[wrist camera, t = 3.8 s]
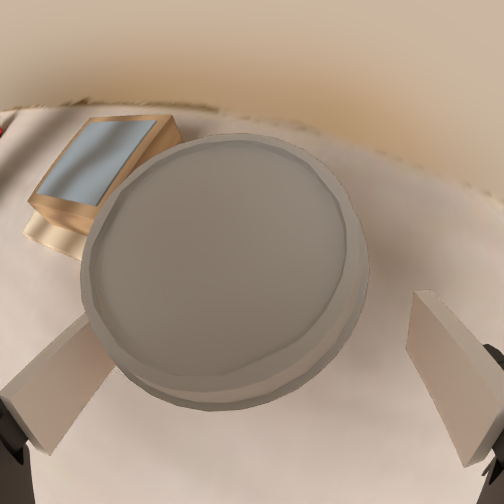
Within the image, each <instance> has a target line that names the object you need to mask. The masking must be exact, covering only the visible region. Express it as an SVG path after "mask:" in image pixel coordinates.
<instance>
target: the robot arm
mask: <svg viewBox="0 0 504 504" xmlns="http://www.w3.org/2000/svg"><path fill="white" fill-rule="evenodd" d="M406 350H407V352H408V354H409V356H410V357H411V359H412V361H413V363H414V365H415V367H416V369H417V370H418V372H419V374H420V376H421V378H422V380H423V382H424V384H425V386H426V388H427V389H428V391H429V393H430V395H431V397H432V399H433V401H434V403H435V405H436V407H437V409H438V411H439V414H440V416H441V418H442V420H443V422H444V424H445V426H446V428H447V430H448V433H449V435H450V437H451V439H452V441H453V444H454V446H455V448H456V451H457V453H458V455H459V458H460V460H461V462H462V465H463V467H464V468H465V467H468V466H470V465H473V464H475V463H478V462H480V461H482V460H484V459H485V457H486V456H487V455H488V453H489V452H490V450H491V449H493V451H494V453H495V457H494V458H493V460H492V461H491V462H490V464H489V465H488V466H487V467H486V469H485V470H484V472H483V473H482V475H481V476H485V474H486V473H487V472H488V471H489V472H488V475H487V477H486V480H485V483H484V486H483V488H482V491H481V494H480V496H479V499H478V501H477V504H504V355H503V354H502V353H501V352H500V351H499V350H498V349H496V348H494V347H493V346H491V345H489V344H485V345H482V344H481V343H480V342H479V341H478V340H477V339H476V338H475V336H474V335H473V334H472V333H471V332H470V331H469V330H468V329H467V328H466V326H465V325H464V324H463V323H462V322H461V321H460V320H459V319H458V318H457V317H456V316H455V315H454V314H453V312H452V311H451V310H450V309H449V308H448V307H447V306H446V305H445V304H444V303H443V302H442V301H441V300H440V299H439V298H438V297H437V296H436V295H435V294H434V293H433V292H432V291H431V290H430V289H429V290H421V291H414V294H413V303H412V311H411V318H410V325H409V332H408V338H407V344H406ZM115 365H116V364H115V363H114V362H113V360H112V359H111V358H110V357H109V355H108V353H107V351H106V350H105V348H104V347H103V345H102V344H101V342H100V341H99V339H98V338H97V336H96V335H95V333H94V331H93V330H92V328H91V325H90V323H89V320H88V317H87V314H86V312H85V313H84V314H83V315H82V316H81V317H80V318H79V319H77V320H76V321H75V322H74V323H73V324H72V325H71V326H69V327H68V328H67V329H66V330H65V331H64V332H63V333H62V334H60V335H59V336H58V337H57V338H56V339H55V340H54V341H53V342H52V343H51V344H49V345H48V346H47V347H46V348H45V349H44V350H43V351H42V352H41V353H40V354H39V355H37V356H36V357H35V358H34V359H33V360H32V361H31V362H30V363H29V364H28V365H27V366H26V367H25V368H24V369H23V370H22V371H21V372H20V373H19V374H18V375H16V376H15V377H14V378H13V379H12V380H11V381H10V382H9V383H8V384H7V385H6V386H5V387H4V388H3V389H2V390H1V391H0V504H35V499H34V492H33V485H32V476H31V466H30V452H29V448H28V446H27V445H26V444H25V443H26V442H27V440H28V439H29V440H30V442H31V443H32V444H33V446H34V447H35V448H36V449H37V450H38V451H40V452H43V453H45V454H47V455H49V456H50V455H51V454H52V452H53V451H54V449H55V448H56V447H57V445H58V444H59V442H60V441H61V439H62V438H63V436H64V435H65V434H66V432H67V431H68V429H69V428H70V427H71V425H72V424H73V422H74V421H75V419H76V418H77V417H78V415H79V414H80V413H81V411H82V410H83V408H84V407H85V406H86V404H87V403H88V401H89V400H90V399H91V397H92V396H93V395H94V393H95V392H96V391H97V389H98V388H99V386H100V385H101V384H102V382H103V381H104V380H105V378H106V377H107V376H108V374H109V373H110V372H111V370H112V369H113V368H114V366H115Z"/></svg>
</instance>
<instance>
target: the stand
mask: <svg viewBox="0 0 504 504" xmlns="http://www.w3.org/2000/svg"><path fill="white" fill-rule="evenodd" d="M181 143H184V142H183V140H182V138H181V135H180V133H179V130H178V128H177V126H176V123H175V121H174V118H173V116H172V115H134V116H113V117H99V118H90V119H89V120H88V121H87V122H86V123H85V125H84V126H83V127H82V128H81V129H80V130H79V132H78V133H77V134H76V135H75V136H74V138H73V139H72V140H71V141H70V142H69V144H68V145H67V146H66V147H65V149H64V150H63V151H62V153H61V154H60V155H59V156H58V158H57V159H56V160H55V162H54V163H53V164H52V166H51V167H50V169H49V170H48V171H47V173H46V174H45V176H44V177H43V178H42V180H41V181H40V183H39V184H38V186H37V187H36V189H35V190H34V192H33V193H32V195H31V196H30V198H29V199H28V201H27V202H28V203H29V204H30V205H31V206H32V207H33V208H34V209H35V212H34V214H33V215H32V217H31V219H30V220H29V222H28V224H27V225H26V227H25V229H24V231H23V234H25V235H26V236H27V237H28V238H30V239H32V240H34V241H36V242H38V243H41V244H43V245H45V246H47V247H49V248H52V249H54V250H56V251H58V252H61V253H63V254H65V255H68V256H70V257H72V258H75V259H77V260H80V261H82V254H83V250H84V246H85V242H86V239H87V236H88V234H89V231H90V229H91V227H92V224H93V222H94V220H95V218H96V216H97V214H98V213H99V211H100V209H101V208H102V206H103V205H104V203H105V202H106V200H107V199H108V197H109V196H110V195H111V194H112V193H113V192H114V190H115V189H116V188H117V187H118V186H119V185H120V184H121V183H122V182H123V181H124V180H125V179H126V178H127V177H128V176H129V175H130V174H131V173H132V172H133V171H134V170H135V169H137V168H138V167H140V166H141V165H142V164H144V163H145V162H147V161H148V160H150V159H151V158H152V157H154V156H156V155H158V154H160V153H162V152H164V151H166V150H168V149H170V148H172V147H174V146H176V145H178V144H181Z"/></svg>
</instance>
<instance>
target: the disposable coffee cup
mask: <svg viewBox="0 0 504 504" xmlns="http://www.w3.org/2000/svg"><path fill="white" fill-rule="evenodd" d="M368 277H369V260H368V247H367V244H366V240H365V237H364V233H363V230H362V227H361V223H360V220H359V219H358V217H357V215H356V213H355V211H354V209H353V206H352V204H351V202H350V199H349V197H348V195H347V192H346V190H345V189H344V188H343V186H342V185H341V183H340V182H339V181H338V179H337V178H336V177H335V175H334V174H333V173H332V172H331V171H330V170H329V169H328V168H327V167H326V166H325V165H324V164H323V163H322V162H321V161H319V160H318V159H316V158H315V157H313V156H312V155H310V154H309V153H308V152H306V151H305V150H303V149H301V148H299V147H296V146H294V145H292V144H289V143H287V142H284V141H282V140H279V139H277V138H272V137H266V136H260V135H254V134H248V133H238V134H220V135H210V136H206V137H202V138H199V139H195V140H191V141H188V142H184V143H181V144H178V145H176V146H174V147H172V148H170V149H168V150H166V151H164V152H162V153H160V154H158V155H156V156H154V157H152V158H151V159H150V160H148V161H147V162H145V163H144V164H142V165H141V166H140V167H138V168H137V169H135V170H134V171H133V172H132V173H131V174H130V175H129V176H128V177H127V178H126V179H125V180H124V181H123V182H122V183H121V184H120V185H119V186H118V187H117V188H116V189H115V190H114V192H113V193H112V194H111V195H110V196H109V197H108V199H107V200H106V202H105V203H104V205H103V206H102V208H101V209H100V211H99V213H98V214H97V216H96V218H95V220H94V222H93V224H92V227H91V229H90V231H89V234H88V236H87V239H86V242H85V246H84V250H83V254H82V261H81V270H80V280H81V296H82V302H83V305H84V308H85V311H86V314H87V317H88V320H89V323H90V325H91V328H92V330H93V331H94V333H95V335H96V336H97V338H98V339H99V341H100V342H101V344H102V345H103V347H104V348H105V350H106V351H107V353H108V355H109V357H110V358H111V359H112V360H113V362H114V363H115V364H116V365H117V366H118V367H119V369H120V370H121V371H122V372H123V373H124V374H125V375H126V377H127V378H128V379H129V380H131V381H132V382H134V383H135V384H136V385H138V386H139V387H141V388H142V389H143V390H145V391H146V392H148V393H149V394H151V395H152V396H155V397H157V398H159V399H162V400H164V401H167V402H169V403H172V404H174V405H177V406H181V407H186V408H191V409H197V410H203V411H209V412H210V411H228V410H241V409H246V408H250V407H254V406H258V405H261V404H265V403H268V402H271V401H273V400H275V399H277V398H279V397H282V396H284V395H286V394H288V393H290V392H292V391H294V390H296V389H298V388H299V387H301V386H302V385H303V384H305V383H306V382H308V381H309V380H310V379H312V378H313V377H314V376H316V375H317V374H318V373H319V372H320V371H321V370H322V369H323V368H324V367H325V366H326V365H327V364H328V363H329V362H330V361H331V360H332V359H333V358H334V357H335V356H336V355H337V354H338V352H339V351H340V349H341V348H342V347H343V345H344V344H345V342H346V341H347V339H348V338H349V336H350V335H351V333H352V331H353V329H354V327H355V325H356V323H357V321H358V319H359V316H360V313H361V310H362V307H363V304H364V301H365V298H366V292H367V285H368Z"/></svg>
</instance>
